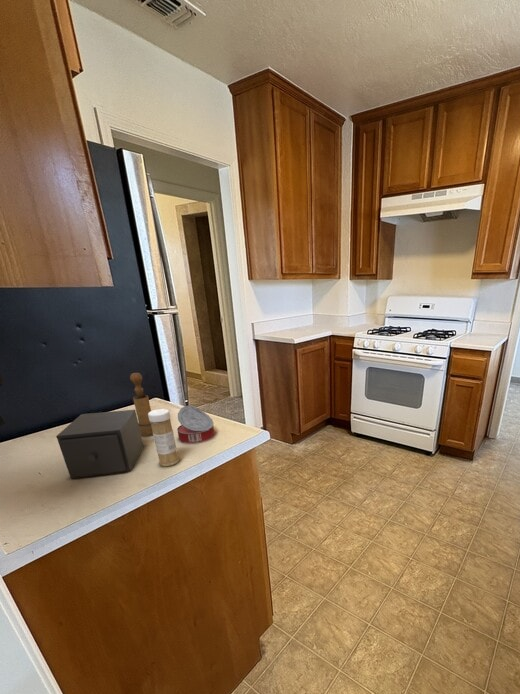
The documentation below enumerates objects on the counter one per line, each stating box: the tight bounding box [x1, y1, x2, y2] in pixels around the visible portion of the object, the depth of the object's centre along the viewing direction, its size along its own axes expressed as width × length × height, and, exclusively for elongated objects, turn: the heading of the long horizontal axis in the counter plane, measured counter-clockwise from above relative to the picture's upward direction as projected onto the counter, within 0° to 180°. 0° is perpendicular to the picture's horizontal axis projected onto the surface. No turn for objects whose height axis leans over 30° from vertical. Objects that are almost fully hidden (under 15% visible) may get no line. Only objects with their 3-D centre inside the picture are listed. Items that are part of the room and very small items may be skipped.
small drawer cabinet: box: [55, 409, 145, 479], centre depth 86 cm, size 15×13×11 cm
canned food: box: [176, 405, 216, 444], centre depth 101 cm, size 11×10×10 cm
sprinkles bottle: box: [148, 408, 180, 467], centre depth 84 cm, size 5×5×14 cm
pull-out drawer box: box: [58, 433, 127, 477], centre depth 84 cm, size 15×11×9 cm
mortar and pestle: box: [129, 372, 153, 438], centre depth 102 cm, size 7×6×18 cm
